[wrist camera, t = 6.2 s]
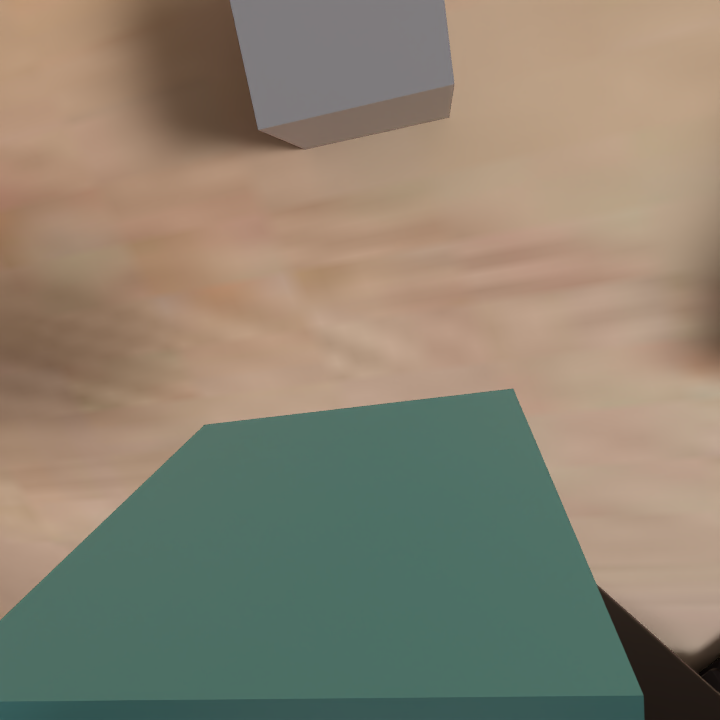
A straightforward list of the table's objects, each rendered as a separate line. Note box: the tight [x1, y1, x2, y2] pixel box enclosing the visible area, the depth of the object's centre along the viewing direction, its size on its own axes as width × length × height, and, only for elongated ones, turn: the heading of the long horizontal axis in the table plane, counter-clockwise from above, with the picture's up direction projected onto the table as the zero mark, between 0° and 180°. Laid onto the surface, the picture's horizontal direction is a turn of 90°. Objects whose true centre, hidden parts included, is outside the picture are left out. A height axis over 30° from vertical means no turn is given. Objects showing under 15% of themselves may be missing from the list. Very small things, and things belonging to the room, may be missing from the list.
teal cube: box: [0, 389, 645, 720], centre depth 6 cm, size 5×5×5 cm
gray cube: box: [230, 0, 454, 149], centre depth 14 cm, size 5×5×5 cm
